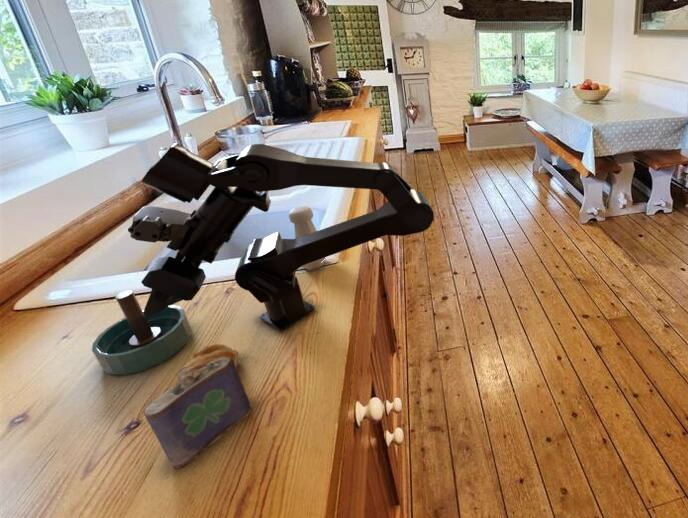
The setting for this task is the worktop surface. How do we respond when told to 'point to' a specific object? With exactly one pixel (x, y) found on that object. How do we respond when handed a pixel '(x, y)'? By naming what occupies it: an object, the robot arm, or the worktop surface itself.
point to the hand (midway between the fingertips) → (159, 294)
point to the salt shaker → (304, 229)
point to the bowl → (124, 360)
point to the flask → (198, 410)
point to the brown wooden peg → (137, 321)
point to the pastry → (211, 356)
